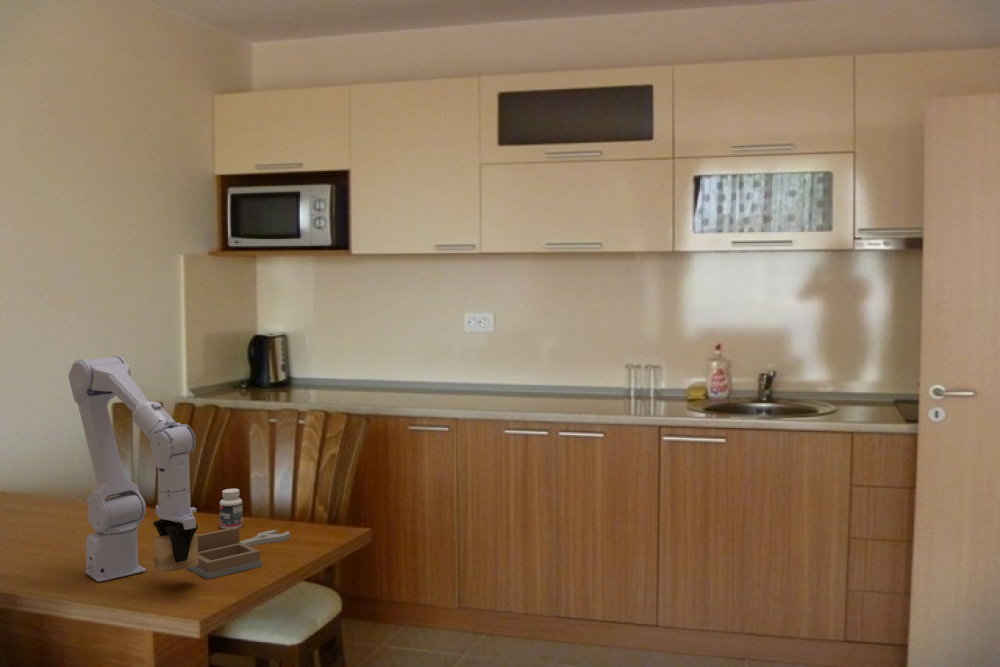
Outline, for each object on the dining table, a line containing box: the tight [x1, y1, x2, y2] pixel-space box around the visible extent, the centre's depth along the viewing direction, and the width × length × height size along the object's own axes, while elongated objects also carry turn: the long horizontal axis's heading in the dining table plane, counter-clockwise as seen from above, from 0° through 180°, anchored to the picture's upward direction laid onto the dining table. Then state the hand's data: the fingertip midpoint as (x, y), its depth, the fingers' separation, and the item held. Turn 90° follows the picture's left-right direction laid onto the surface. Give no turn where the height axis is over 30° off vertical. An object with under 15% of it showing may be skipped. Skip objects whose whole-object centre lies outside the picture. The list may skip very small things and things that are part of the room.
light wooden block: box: [153, 533, 199, 574], centre depth 171 cm, size 7×4×6 cm, turn 132°
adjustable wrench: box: [240, 529, 291, 547], centre depth 197 cm, size 25×6×2 cm, turn 134°
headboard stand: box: [186, 527, 263, 580], centre depth 184 cm, size 12×12×6 cm
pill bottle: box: [219, 488, 244, 530], centre depth 214 cm, size 5×5×9 cm
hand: (176, 558), depth 172 cm, fingers closed on light wooden block, 4 cm apart
